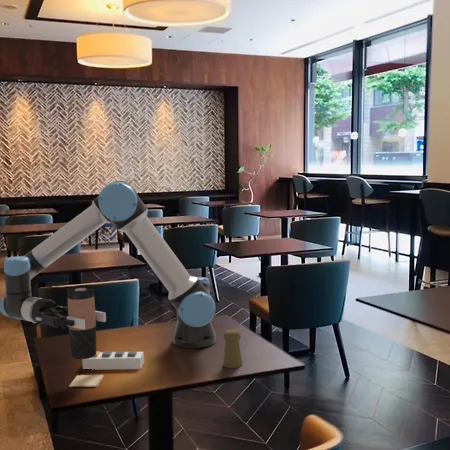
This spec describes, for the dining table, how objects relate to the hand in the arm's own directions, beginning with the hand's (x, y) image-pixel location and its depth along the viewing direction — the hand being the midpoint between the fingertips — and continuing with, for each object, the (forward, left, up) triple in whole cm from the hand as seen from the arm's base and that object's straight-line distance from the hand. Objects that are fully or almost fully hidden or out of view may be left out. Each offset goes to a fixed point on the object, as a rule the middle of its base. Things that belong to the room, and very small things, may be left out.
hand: (94, 320), depth 161 cm
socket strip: (-1, -15, -19) cm, 25 cm away
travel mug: (+5, -3, -11) cm, 12 cm away
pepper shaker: (-39, -15, -19) cm, 46 cm away
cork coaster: (+4, -2, -19) cm, 20 cm away
